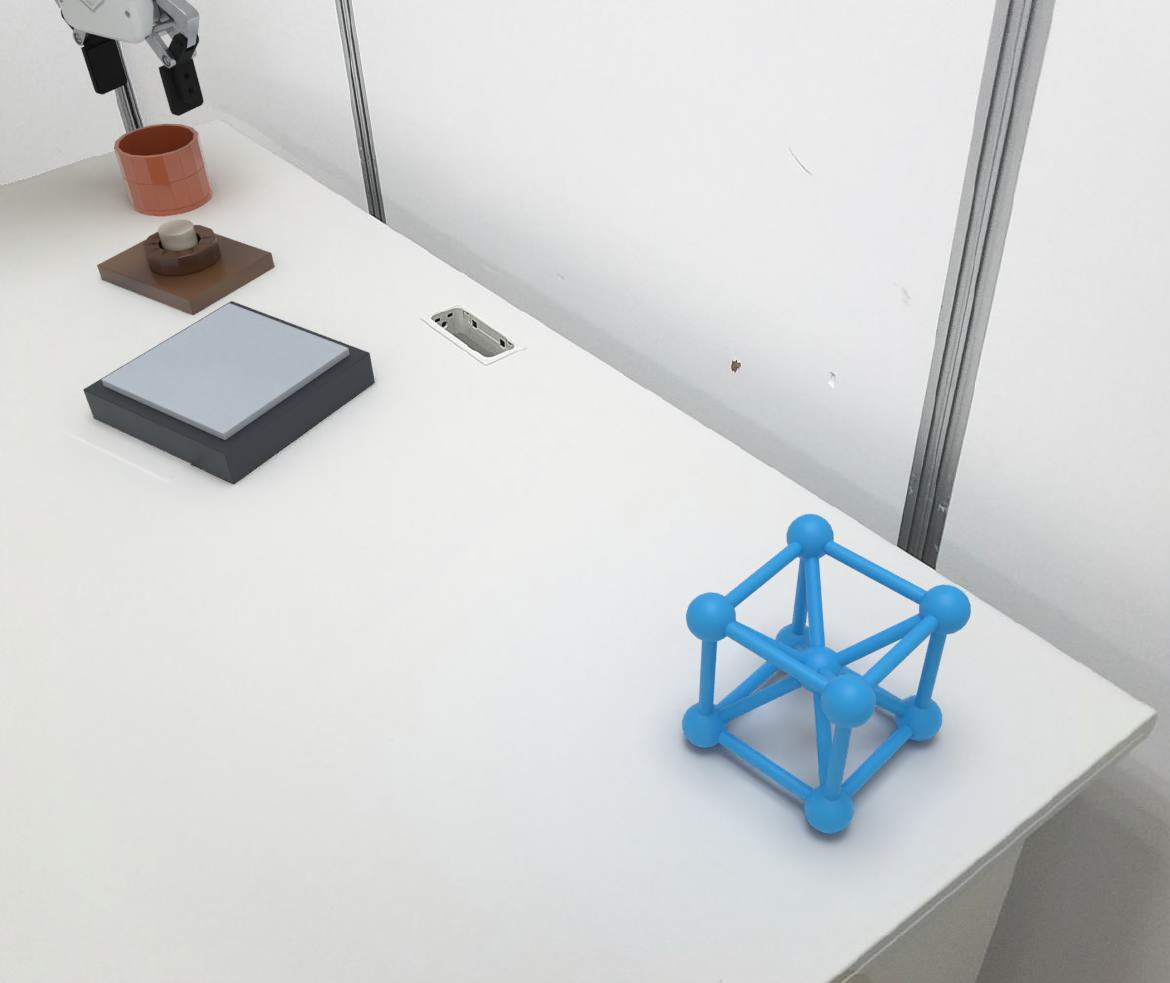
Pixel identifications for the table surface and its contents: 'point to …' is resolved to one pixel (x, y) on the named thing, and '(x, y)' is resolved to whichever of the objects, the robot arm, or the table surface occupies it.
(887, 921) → the table surface
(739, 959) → the table surface
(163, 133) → the terracotta cup
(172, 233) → the button
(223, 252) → the panel
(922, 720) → the molecular structure
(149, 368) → the scale
